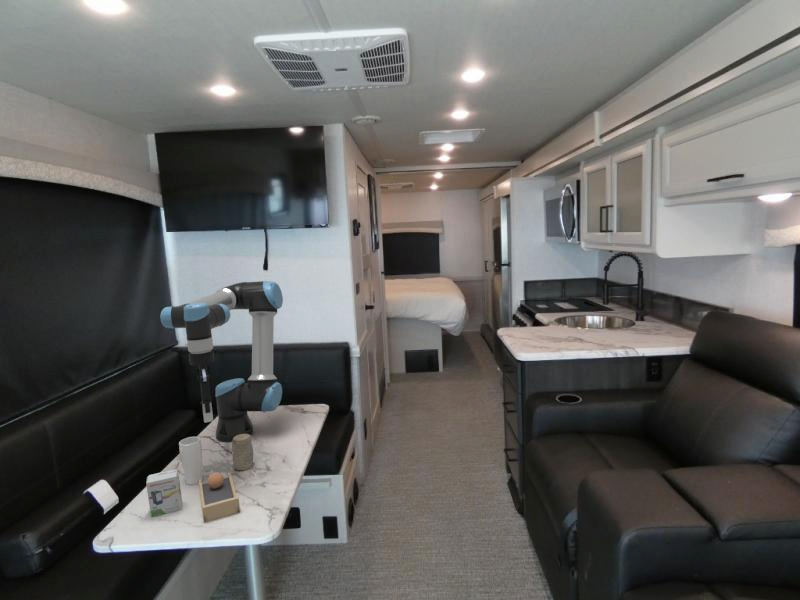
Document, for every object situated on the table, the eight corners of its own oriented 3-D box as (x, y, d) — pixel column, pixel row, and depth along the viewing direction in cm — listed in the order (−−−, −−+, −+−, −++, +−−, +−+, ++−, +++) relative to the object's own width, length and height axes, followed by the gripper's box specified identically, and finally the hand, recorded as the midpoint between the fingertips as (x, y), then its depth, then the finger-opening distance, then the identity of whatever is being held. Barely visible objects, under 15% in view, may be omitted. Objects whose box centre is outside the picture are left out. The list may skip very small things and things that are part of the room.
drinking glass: (209, 478, 162) (204, 437, 160) (195, 488, 156) (190, 446, 154) (193, 476, 164) (189, 435, 162) (179, 486, 158) (173, 443, 156)
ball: (207, 486, 156) (206, 472, 155) (223, 482, 158) (222, 468, 157) (208, 493, 151) (207, 478, 151) (225, 488, 153) (223, 474, 153)
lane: (199, 486, 157) (197, 472, 156) (230, 478, 161) (229, 464, 161) (204, 524, 136) (202, 508, 135) (240, 513, 140) (238, 498, 139)
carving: (258, 464, 170) (255, 433, 169) (243, 474, 164) (240, 442, 162) (245, 462, 173) (242, 431, 171) (230, 471, 166) (226, 439, 165)
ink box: (182, 503, 147) (178, 467, 146) (182, 511, 143) (177, 475, 141) (152, 510, 144) (147, 474, 142) (150, 519, 139) (145, 482, 138)
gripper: (187, 348, 157) (195, 415, 160) (189, 357, 144) (197, 430, 147) (211, 345, 160) (218, 411, 163) (215, 353, 147) (222, 425, 150)
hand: (208, 420), depth 155 cm, fingers closed
